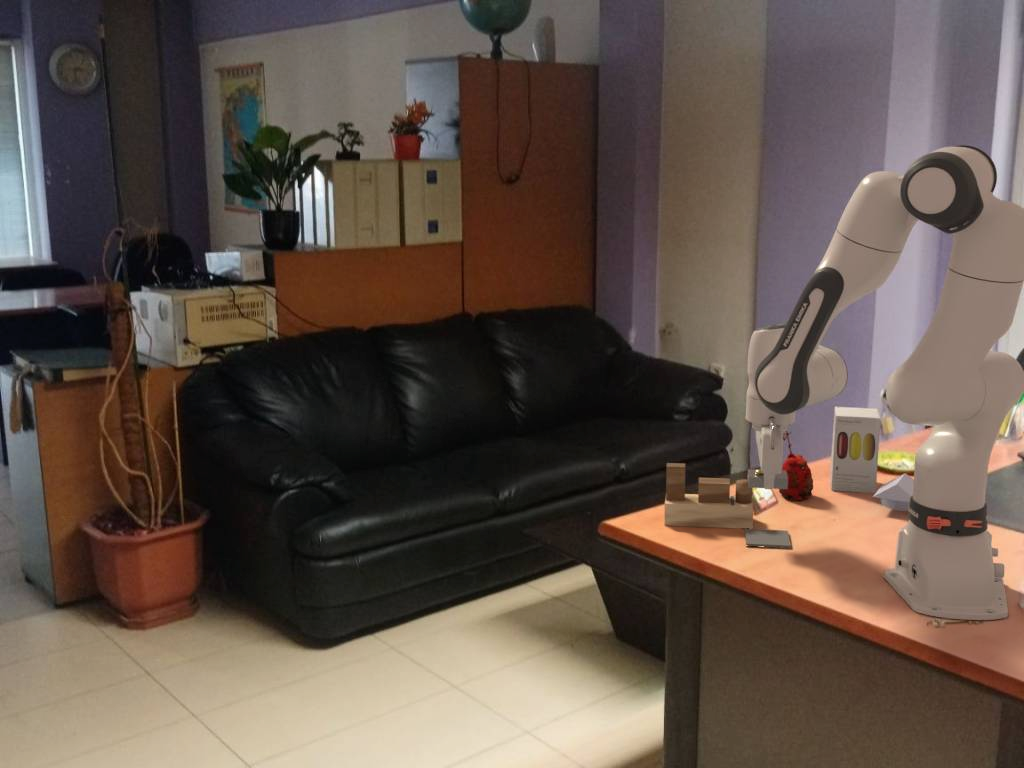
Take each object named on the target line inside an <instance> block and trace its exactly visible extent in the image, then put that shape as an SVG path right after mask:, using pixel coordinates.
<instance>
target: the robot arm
mask: <svg viewBox="0 0 1024 768" xmlns="http://www.w3.org/2000/svg"><path fill="white" fill-rule="evenodd" d="M997 181H998V173H997V168H996V165H995V163H994V161H993V159H992V158H991V156H990V155H988V154H987V153H986V152H985V151H984V150H982V149H980V148H977V147H975V146H971V145H965V144H964V145H963V144H961V145H954V146H945V147H940V148H938V149H935V150H933V151H931V152H929V153H926V154H924V155H922V156H920V157H918V158H917V159H916V160H914V162H913V163H911V165H909V167H908V168H907V170H906V171H905V173H904V174H901V173H898V172H895V171H889V170H880V171H875V172H872V173H869V174H867V175H866V176H864V177H863V178H862V180H860V182H859V184H858V186H857V187H856V189H855V190H854V192H852V193H853V194H852V195H851V197H850V199H849V201H848V202H847V204H846V206H845V208H844V210H843V213H842V214H841V216H840V219H839V221H838V224H837V226H836V229H835V231H834V234H833V236H832V238H831V241H830V243H829V245H828V247H827V250H826V251H825V254H824V256H823V257H822V259H821V261H820V263H819V265H818V266H817V268H816V270H815V271H814V273H813V274H812V276H811V277H810V279H809V280H808V282H807V284H806V285H805V286H804V288H803V290H802V292H801V294H800V296H799V298H798V300H797V302H796V304H795V306H794V307H793V310H792V312H791V314H790V316H789V318H788V320H787V322H786V323H777V324H772V325H766V326H765V325H764V326H759V327H758V328H756V329H755V330H754V331H753V332H752V335H751V337H750V341H749V346H748V351H747V352H748V355H747V369H746V370H747V371H746V372H747V376H748V385H747V386H748V387H747V389H746V399H745V400H746V401H745V405H746V406H745V420H746V421H747V422H749V423H751V425H752V426H751V427H752V430H754V431H755V440H756V441H755V442H756V446H757V451H758V458H759V459H758V460H759V465H760V469H761V472H762V473H764V488H763V489H765V490H773V488H774V479H775V474H780V473H781V472H782V465H783V463H784V462H783V456H784V441H783V436H784V435H783V434H784V432H786V431H788V425H791V424H793V423H794V422H795V421H796V411H799V410H801V409H803V408H805V407H809V406H812V405H815V404H819V403H822V402H824V401H827V400H830V399H833V398H835V397H837V396H838V395H840V394H841V393H842V392H843V391H844V389H845V388H846V385H847V382H848V378H849V377H848V373H849V372H848V367H847V363H846V361H845V360H844V358H843V356H842V355H841V354H840V353H839V352H838V351H837V350H835V349H833V348H830V347H826V346H823V345H821V342H822V341H823V338H824V337H825V334H826V332H827V331H828V328H829V327H830V325H831V323H832V322H833V320H835V318H836V317H837V316H838V315H839V314H840V312H842V311H844V310H845V309H846V308H847V307H849V306H850V305H852V304H853V303H855V302H856V301H858V300H859V299H861V298H863V297H865V296H866V295H868V294H870V293H873V292H874V291H876V290H877V289H879V288H881V287H882V286H883V285H884V284H885V283H886V282H887V280H888V278H889V277H890V275H891V274H892V273H893V271H894V270H895V268H896V267H897V264H898V262H899V260H900V257H901V255H902V253H903V250H904V248H905V246H906V243H907V241H908V238H909V236H910V234H911V232H912V230H913V228H914V227H915V225H916V224H917V223H918V221H920V222H922V223H925V224H928V225H930V226H932V227H933V228H935V229H937V230H939V231H941V232H943V233H945V234H947V235H951V234H952V235H953V241H952V249H951V253H950V257H949V261H948V265H947V270H946V273H945V278H944V281H943V285H942V288H941V291H940V296H939V300H938V302H937V306H936V308H935V309H936V310H935V312H934V314H933V317H932V319H931V321H930V323H929V325H928V327H927V329H926V331H925V332H924V333H923V336H922V337H921V339H920V341H919V342H918V344H917V346H916V347H915V348H914V350H913V351H912V353H911V354H910V355H909V356H908V357H907V359H906V360H905V361H904V362H903V363H902V364H900V366H898V367H896V369H895V370H893V372H891V374H890V375H889V378H888V380H887V382H886V387H885V397H886V398H885V399H886V401H887V405H888V406H889V409H890V411H891V413H892V414H893V415H894V416H895V417H896V419H898V420H899V421H901V422H902V423H905V424H908V425H913V426H914V425H915V426H925V427H927V426H928V427H933V429H932V430H931V432H930V434H929V436H928V437H927V439H926V440H925V441H924V442H923V443H922V444H921V445H920V446H919V448H918V449H917V452H916V453H915V458H914V471H913V480H914V485H913V495H912V496H911V497H910V503H909V508H908V510H909V511H908V519H909V520H908V522H907V523H906V524H905V525H904V526H903V527H902V528H900V530H898V533H897V541H896V550H895V561H894V567H893V568H889V569H887V570H885V571H884V574H883V578H884V580H885V581H886V582H887V583H888V584H889V585H890V586H891V587H892V588H893V590H895V591H896V592H897V593H898V594H899V597H901V598H902V599H903V600H904V601H905V603H907V605H908V606H910V608H911V610H913V611H914V612H916V613H919V614H921V615H927V616H932V617H937V618H942V619H943V618H944V619H953V620H969V621H971V620H972V621H989V620H990V621H992V620H993V621H994V620H999V619H1005V618H1007V617H1008V616H1009V609H1008V601H1007V597H1006V596H1007V595H1006V590H1005V584H1004V577H1005V564H1004V563H1000V562H994V558H995V557H997V558H998V556H999V548H996V547H992V542H993V541H992V539H993V534H992V533H991V532H990V531H989V530H988V520H989V512H988V505H987V503H986V491H987V483H988V472H989V464H990V459H991V455H992V452H993V449H994V446H995V443H996V440H997V438H998V435H999V433H1000V430H1001V428H1002V426H1003V424H1004V421H1005V419H1006V417H1008V414H1009V413H1010V411H1011V410H1012V409H1013V407H1014V406H1015V405H1016V404H1017V403H1018V402H1019V401H1020V400H1021V398H1022V396H1023V395H1024V369H1023V366H1022V365H1021V364H1020V363H1019V361H1018V360H1017V359H1016V358H1015V357H1013V356H1012V355H1010V354H1009V353H1006V352H1002V351H998V350H997V351H996V350H991V349H992V348H993V346H994V345H995V344H996V343H997V342H998V341H999V340H1000V339H1001V338H1002V337H1003V336H1004V335H1006V334H1007V332H1009V330H1010V328H1011V327H1012V325H1013V322H1014V319H1015V314H1016V310H1017V307H1018V303H1019V300H1020V296H1021V292H1022V289H1023V285H1024V208H1023V207H1022V206H1020V205H1019V204H1017V203H1015V202H1012V201H1008V200H1001V199H1000V198H998V197H996V196H995V195H994V194H993V193H994V191H995V189H996V186H997ZM993 557H994V558H993Z"/></svg>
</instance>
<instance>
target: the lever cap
mask: <svg viewBox="0 0 1024 768" xmlns="http://www.w3.org/2000/svg"><path fill="white" fill-rule="evenodd" d="M747 480H748V487H749V488H752V489H753V488H754V489H765V488H764V473H762V472H761V468H758V469H757V468H755V469H754V468H753V469H752V468H748V469H747ZM773 489H775V490H776V489H777V490H779V489H788V477H787V472H786V471H784V470H782V472H781V473H780V474H775V479H774V488H773ZM773 489H772V490H773Z"/></svg>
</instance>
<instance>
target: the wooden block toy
mask: <svg viewBox="0 0 1024 768" xmlns="http://www.w3.org/2000/svg"><path fill="white" fill-rule="evenodd" d="M665 468H666V469H665V470H666V474H665V475H666V476H665V477H666V478H665V479H666V482H665V484H666V485H665V487H666V488H665V492H666V493H665V498H664V526H670V527H672V526H674V527H675V526H676V527H695V528H697V527H700V528H721V529H722V528H723V529H741V528H749V529H751V528H752V529H754V528H753V527H754V526H753V525H754V524H753V523H754V503H753V488H749V487H748V479H742V478H741V479H737V480H735V495H731V494H730V492H731V491H730V489H731V488H730V487H731V486H730V485H731V481H730V480H731V479H730V478H723V477H721V478H720V477H718V478H717V477H698V494H695V493H692V494H691V493H686V463H681V462H680V463H676V462H674V463H673V462H671V463H670V462H667V463H666V467H665Z"/></svg>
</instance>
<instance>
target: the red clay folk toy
mask: <svg viewBox="0 0 1024 768" xmlns="http://www.w3.org/2000/svg"><path fill="white" fill-rule="evenodd" d="M793 432H794V431H793V430H792V431H790V432H789V431H788V430H786V431H785V433H782V434H783V442H785V441H786V440H787V442H788V443H787V444H788V445H787V447H788V449H789V454H788V455H787V458H786V459H785V461H784V462H782V470H784V471H786V472H787V477H788V489H778V492H779V493H780V494H781V496H782V497H783V498H785V499H786V500H792V501H794V502H797V501H798V502H800V501H804V500H808V499H809V498H810V497H812V495H813V493H812V491H813V489H814V479H813V478H812V477H813V474H812V470H811V468H810V467H809V465H808V461H807V459H806V458H804V457H803V455H801V454H796V455H795V454H794V453H793V452H792V449H791V447H792V446H793V444H792V443H790V437H789V435H790V434H791V433H793Z"/></svg>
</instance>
